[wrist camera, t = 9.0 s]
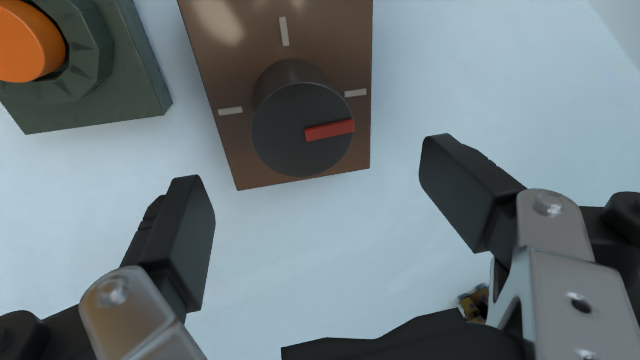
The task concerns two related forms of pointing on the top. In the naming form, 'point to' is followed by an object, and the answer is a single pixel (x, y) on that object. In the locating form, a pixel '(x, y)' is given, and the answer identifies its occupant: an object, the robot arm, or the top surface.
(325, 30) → the dial base block
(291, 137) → the dial knob
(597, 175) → the top surface
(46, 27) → the button
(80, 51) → the button box
